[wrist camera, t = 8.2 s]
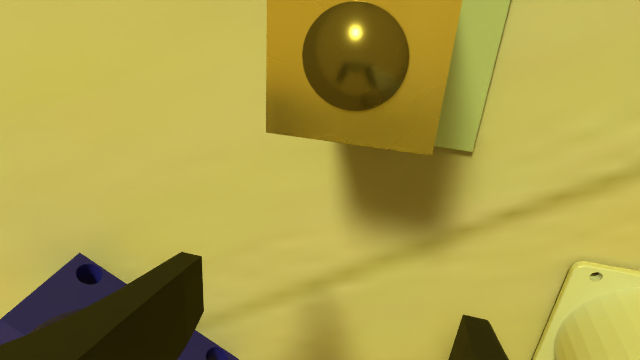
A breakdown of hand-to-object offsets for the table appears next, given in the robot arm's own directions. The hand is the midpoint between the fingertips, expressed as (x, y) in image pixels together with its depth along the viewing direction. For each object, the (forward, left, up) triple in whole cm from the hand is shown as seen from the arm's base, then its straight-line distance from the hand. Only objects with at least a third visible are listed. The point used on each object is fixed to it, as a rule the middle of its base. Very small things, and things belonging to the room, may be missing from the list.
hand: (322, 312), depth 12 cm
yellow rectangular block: (0, -6, -9) cm, 11 cm away
